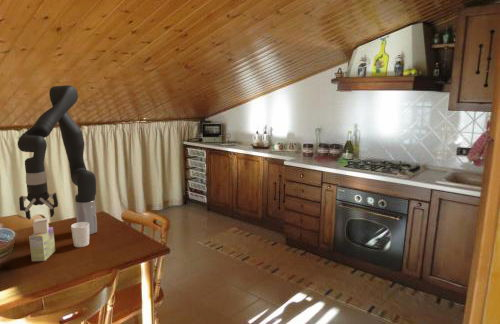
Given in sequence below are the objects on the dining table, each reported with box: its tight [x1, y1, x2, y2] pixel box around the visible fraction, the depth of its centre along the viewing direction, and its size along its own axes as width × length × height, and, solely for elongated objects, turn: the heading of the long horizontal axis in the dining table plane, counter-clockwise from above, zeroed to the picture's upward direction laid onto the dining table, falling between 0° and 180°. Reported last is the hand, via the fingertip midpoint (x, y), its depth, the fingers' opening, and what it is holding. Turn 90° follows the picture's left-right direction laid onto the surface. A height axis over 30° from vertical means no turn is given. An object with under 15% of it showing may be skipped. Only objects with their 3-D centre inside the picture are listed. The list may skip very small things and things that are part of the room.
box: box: [28, 226, 56, 262], centre depth 160 cm, size 10×6×12 cm, turn 4°
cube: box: [32, 217, 50, 234], centre depth 158 cm, size 5×5×5 cm
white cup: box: [70, 222, 90, 248], centre depth 173 cm, size 8×8×10 cm
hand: (40, 217), depth 157 cm, fingers open, 8 cm apart
